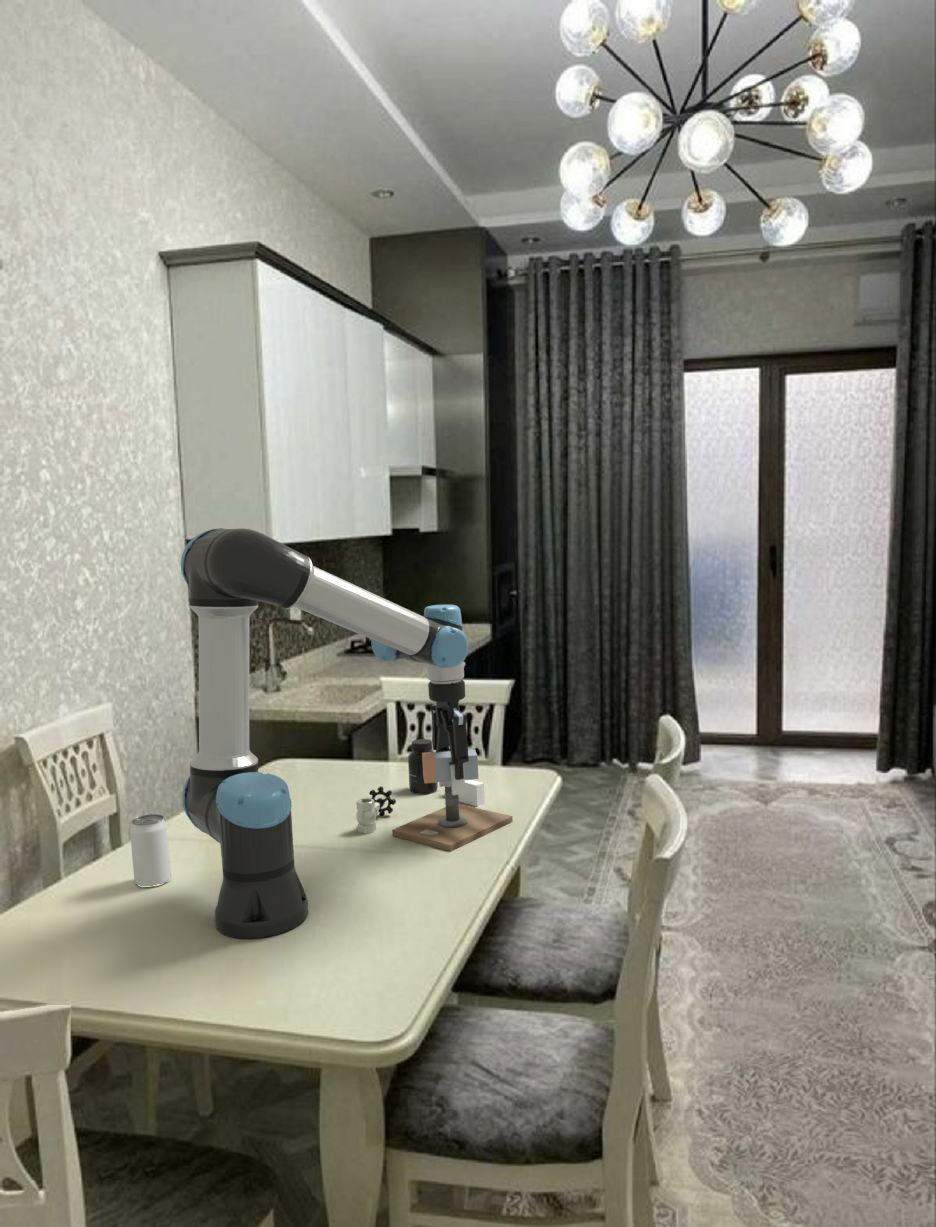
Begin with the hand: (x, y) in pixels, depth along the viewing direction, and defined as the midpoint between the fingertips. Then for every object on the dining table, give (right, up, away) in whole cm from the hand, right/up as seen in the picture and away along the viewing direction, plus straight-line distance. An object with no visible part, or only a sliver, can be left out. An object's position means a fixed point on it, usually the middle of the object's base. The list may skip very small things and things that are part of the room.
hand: (452, 789), depth 190 cm
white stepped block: (+3, -7, +20) cm, 22 cm away
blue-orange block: (0, +1, 0) cm, 1 cm away
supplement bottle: (-7, -6, +28) cm, 29 cm away
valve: (-17, -9, +6) cm, 20 cm away
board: (0, -8, +1) cm, 8 cm away
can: (-55, -13, -20) cm, 60 cm away
